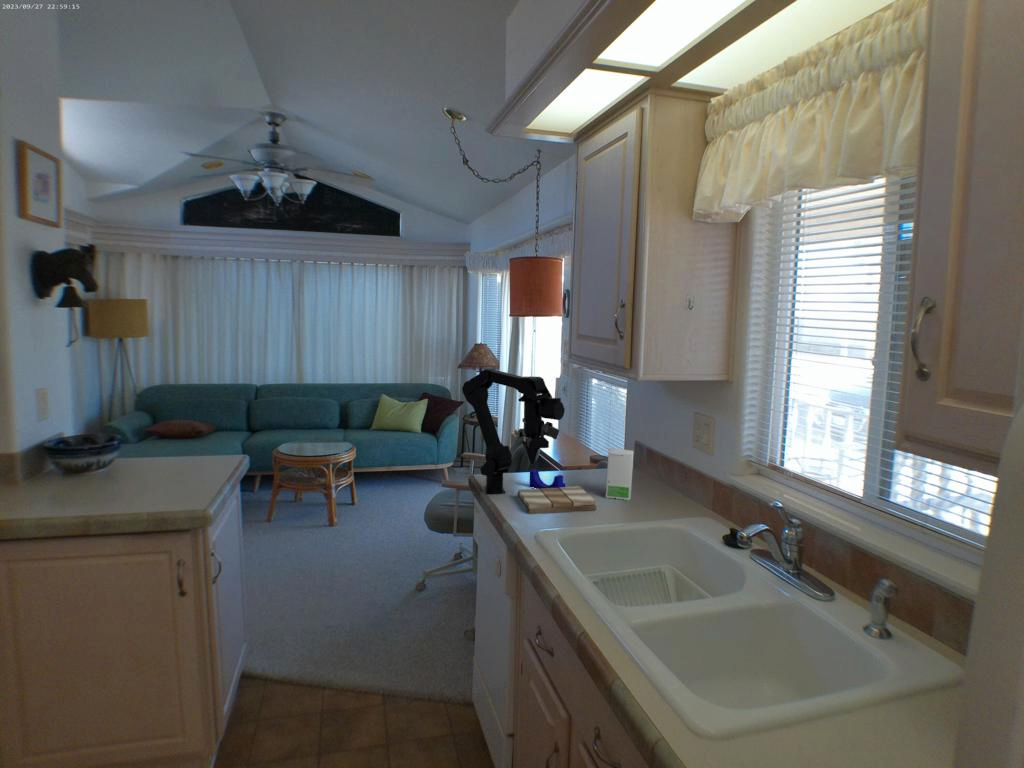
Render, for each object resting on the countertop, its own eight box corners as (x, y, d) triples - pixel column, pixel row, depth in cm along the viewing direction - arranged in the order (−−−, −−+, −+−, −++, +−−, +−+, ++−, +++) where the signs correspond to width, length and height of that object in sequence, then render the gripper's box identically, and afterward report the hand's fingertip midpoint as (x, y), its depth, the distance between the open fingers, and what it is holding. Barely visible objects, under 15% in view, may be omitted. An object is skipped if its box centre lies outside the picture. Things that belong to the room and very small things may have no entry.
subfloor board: (517, 496, 199) (517, 492, 199) (578, 493, 204) (578, 489, 203) (529, 514, 182) (529, 509, 182) (596, 510, 186) (596, 506, 186)
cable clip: (565, 491, 206) (565, 474, 206) (557, 494, 203) (558, 477, 202) (537, 485, 214) (537, 468, 213) (529, 487, 210) (529, 471, 210)
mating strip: (540, 492, 200) (540, 488, 200) (557, 491, 201) (557, 487, 201) (553, 507, 184) (553, 503, 184) (571, 506, 185) (572, 502, 185)
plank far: (559, 491, 201) (559, 487, 201) (579, 489, 202) (579, 486, 202) (573, 505, 186) (573, 502, 185) (595, 504, 187) (595, 500, 187)
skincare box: (605, 498, 199) (606, 452, 197) (606, 492, 205) (608, 447, 204) (631, 500, 197) (632, 453, 195) (632, 494, 203) (633, 449, 202)
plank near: (518, 493, 198) (518, 489, 198) (538, 491, 200) (538, 488, 200) (529, 508, 183) (529, 504, 183) (551, 507, 184) (551, 503, 184)
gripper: (565, 421, 185) (564, 470, 186) (549, 411, 203) (548, 456, 205) (530, 421, 182) (529, 472, 184) (517, 411, 201) (516, 457, 202)
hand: (531, 464), depth 194 cm, fingers closed
